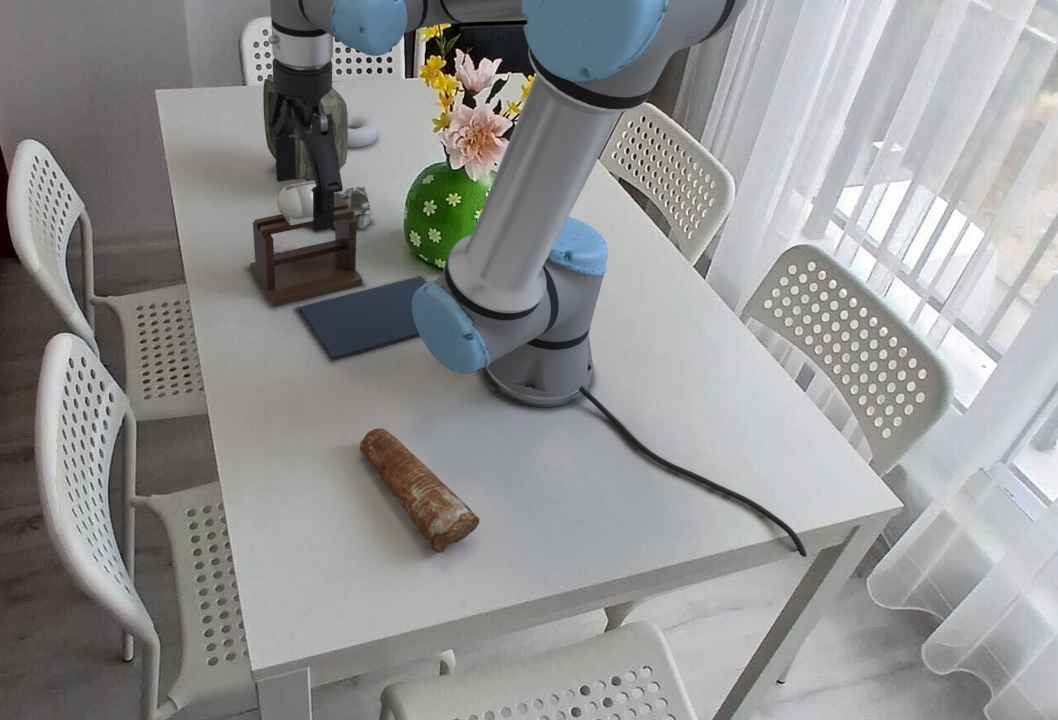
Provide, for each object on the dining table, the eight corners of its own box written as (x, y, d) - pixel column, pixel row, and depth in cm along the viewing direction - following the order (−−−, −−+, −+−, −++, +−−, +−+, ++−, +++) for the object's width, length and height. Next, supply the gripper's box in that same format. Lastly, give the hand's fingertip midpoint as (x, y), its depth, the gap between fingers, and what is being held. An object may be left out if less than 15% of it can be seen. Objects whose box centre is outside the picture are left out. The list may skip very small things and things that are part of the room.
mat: (459, 324, 131) (459, 321, 130) (333, 360, 122) (333, 357, 122) (421, 279, 138) (421, 275, 138) (299, 310, 129) (299, 306, 129)
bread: (434, 566, 98) (438, 534, 95) (351, 453, 110) (352, 421, 106) (481, 543, 101) (486, 511, 98) (395, 435, 113) (398, 404, 109)
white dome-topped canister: (338, 218, 129) (338, 187, 125) (285, 229, 125) (284, 198, 122) (324, 201, 132) (324, 170, 128) (272, 211, 128) (270, 180, 125)
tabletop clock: (266, 166, 159) (259, 27, 142) (312, 157, 163) (311, 20, 146) (301, 207, 150) (298, 63, 134) (349, 196, 154) (352, 55, 138)
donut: (356, 156, 165) (388, 136, 171) (356, 139, 163) (389, 120, 169) (314, 138, 168) (347, 120, 175) (313, 121, 166) (347, 103, 173)
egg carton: (367, 206, 152) (368, 185, 150) (372, 231, 147) (373, 209, 144) (303, 207, 150) (303, 185, 147) (306, 232, 145) (306, 210, 142)
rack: (362, 285, 136) (364, 223, 128) (274, 307, 129) (271, 243, 122) (335, 249, 142) (335, 189, 134) (250, 269, 136) (246, 206, 128)
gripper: (239, 23, 119) (248, 165, 133) (313, 106, 104) (314, 256, 118) (293, 18, 122) (295, 156, 136) (372, 97, 107) (365, 244, 121)
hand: (304, 203), depth 127 cm, fingers open, 13 cm apart
